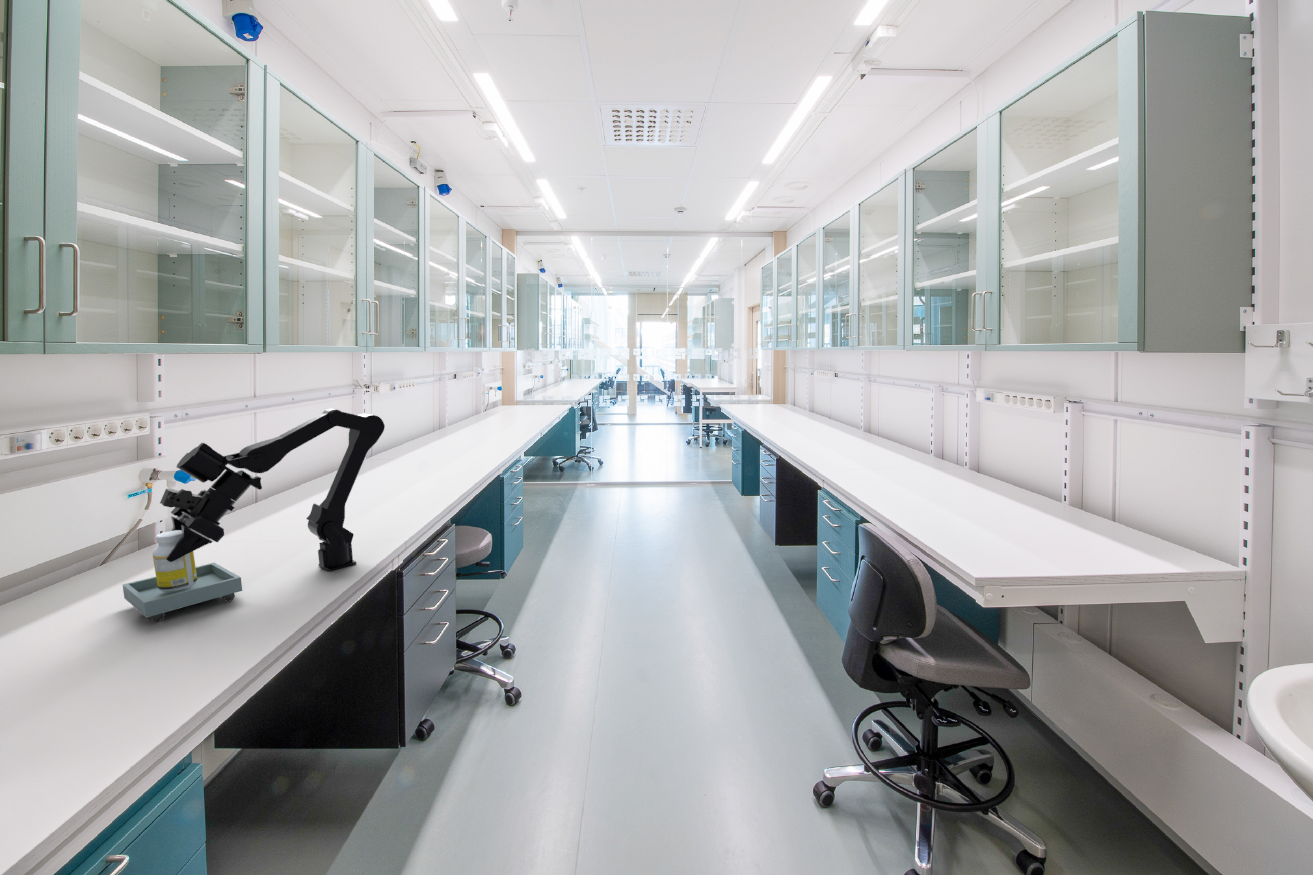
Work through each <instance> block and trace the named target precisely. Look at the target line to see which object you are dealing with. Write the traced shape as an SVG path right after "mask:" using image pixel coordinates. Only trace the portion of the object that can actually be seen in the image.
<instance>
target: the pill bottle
mask: <svg viewBox="0 0 1313 875" xmlns="http://www.w3.org/2000/svg"><path fill="white" fill-rule="evenodd" d="M181 536H182V530H175V531H172V530H170V531H164V532H160V533H158V534H156V535H155V541H156V544H158V545H157V546H156V547H154V548H153V550H152V558H153V559H152V560H153V564H154V572H155V577H156V579H157V586H158V589H159V590H160V591H163V592H172V591H178V590H182V589H185V588H188V587H191V586H193V585H194V584H195V583H196V582H197V574H196V567H197V566H196V560H195V552H194V551H192V552H190V553H188V554H186V555H184V556H182V557H181V558H179V559H177V560H175V561H173V562H170V561H168V560H167V557H168V555H169V554H170V552H171V551H172V549H173V548H174V547H175V545H176V544H177V542H178V541H179V539H180V538H181Z"/></svg>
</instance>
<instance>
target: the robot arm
mask: <svg viewBox="0 0 1313 875" xmlns="http://www.w3.org/2000/svg"><path fill="white" fill-rule="evenodd" d="M334 427H341V428H343V429H349V432H348V445H347V449H346V451H345V453H344V454H343V457H342V460H341V463H340V465H339V467H338V469H337V472H336V474H335V476H334V479H333V481H332V483H331V486H330V488H329V490H328V493H327V495H326V497H325V499H324V500H323V501H322V502H321V503H320V504H318V503H313V504H312V506H311V511H310V513H309V515H308V516H307V517H306V520H307V528H308V530H309V532H310V533H312V534H313V535H315V536H317V538H318V540H319V541H321V542H320V543H319V542H318V543H319V549H318V550H317V554H318V566H319V567H320V568H322V569H325V570H327V571H329V572H330V571H336V570H339V569H342V568H345V567H349V566H353V565H356V564H357V561H356V560H354V559H353V557H354V556H353V547H352V542H353V538H354V533H353V532H352V531H351V530H348V529H347V528H345V527H344V523H345V518H346V504H347V502H348V499H349V496H350V494H351V492H352V489H353V487H354V484H355V483H356V480H357V477H358V475H359V472H360V470H361V468H362V465H363V464H364V461H365V458H366V456H367V454H368V452H369V451H370V450H371V449H372V448H373V447H374V445H375V444H376V443H377V442H378V441H379V439H380V438H381V436H382V435H383V433H384V431H385V429H386V428H385V424H384V420H383V419H382V418H381V417H380V416H378V415H374V414H367V413H360V414H353V413H349V412H344V411H341V410H340V409H335V408H328V409H327V408H326V409H325V410H324V411H323V412H321V413H320V414H318V415H316V416H314V417H312V418H310V419H308V420H306V421H305V422H303V423H301V424H298V425H297V426H295V427H293V428H291V429H289V430H288V431H286V432H283V433H282V434H280V435H278V436H276V437H273V438H270V439H265V440H262V441H259V442H256V443H254V444H250V445H247V446H245V447H243V448H241V450H239V452H235V453H233V454H227V455H223V454H221V453H219V452H217V451H216V450H214V449H213V448H212V447H211V446H210V445H208V444H207V443H205V442H201V443H199V445H197V446H196V447H194V448H193V449H192V450H190V452H186V454H184V456H182V457H181V459H180V460H179V461H178V463H177V464H176V469H179V470H180V471H182V472H184V473H185V474H187V475H189V476H191V477H192V478H194V479H196V480H197V481H199V482H201V483H203V484H204V483H207V482H208V481H209V482H211V483H212V482H214V483H212V484H211V485H210V487H209V488H208V489H207V490H205V489H203V490H200V492H199V493H197V494H195V493H193V492H192V491H191V490H186V489H183V488H181V489H180V490H176V489H172V488H165V490H164V492H163V495H162V497H161V499H160V502H159V504H161V505H162V506H164V507H167V508H173V510H172V511H170V514H172V515H173V516H172V515H171V516H170V517H171V523H172V528H171V531H175V530H182V536H181V538H180V539H179V541H178V542H177V544H176V545H175V547H174V548H173V549H172V551H171V552H170V554H169V555H168V557H167V560H168V561H170V562H173V561H175V560H177V559H179V558H181V557H182V556H184V555H186V554H188V553H190V552H192V551H193V552H194V551H196V550H198V549H200V548H202V547H204V546H206V545H209V544H212V543H213V542H216V543H219V542H220V540H222V538H223V537H224V536H225V530H224V528H223V526H220V524H221V522H220V520H222V518H223V517H224V516H225V515H226V514H227V512H229V511H230V512H232V511H233V510H234V509H235V506H234V505H236V502H238V501H239V499H240V498H241V497H242V496H243V495H244V494H245V493H246V492H247V490H248V489H249V488H250V487H251V486H252V487H253V488H255V489H257V490H262V489H263V487H262V483H261V480H262V477H260V476H258V475H257V476H253V475H250V474H249V473H247V472H246V471H245V470H247V471H249V472H251V473H253V474H254V473H255V474H264V473H266V472H269V471H270V470H271V469H272V468H274V467H275V466H276V465H277V464H279V463H281V461H282V460H283V459H284V458H285V457H286V456H287V455H288V454H290V452H292V451H293V450H296V449H297V448H299V447H302V445H304V444H306V443H309V441H312V440H314V439H315V438H317V437H320V435H322V434H325V433H326V432H327V431H330V430H331V429H333V428H334ZM227 465H230V466H232V467H234V468H236V469H241V470H238V471H234V470H233V469H231V468H230V467H228V466H227ZM242 469H245V470H242Z"/></svg>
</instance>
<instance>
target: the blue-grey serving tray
mask: <svg viewBox="0 0 1313 875" xmlns="http://www.w3.org/2000/svg"><path fill="white" fill-rule="evenodd" d="M195 567H196V574H197V582H196V583H195V584H194V585H193V586H191V587H188V588H185V589H182V590H178V591H172V592H163V591H160V590H159V589H158V586H157V579H156V576H151V577H148V578H144V579H143V578H142V579H140V580H135V581H131V582H127V583H124V584H121V585H122V591H123V596H124V599H125V601H127V602H128V603H129V604H130V605H132V606H133V607H134V608H135V610H137V612H139V613H140V614H142V616H144V617H145V618H150V620H151V621H152V622H154V623H158V622H159V623H160V622H161V621H162V620H164V618H165V614H164V613H168V612H171V611H175V610H179V609H181V608H185V607H188V606H189V607H190V606H193V605H196V604H199V603H204V602H207V601H210V600H213V599H214V600H215V599H217V598H222V599H223V601H226V602H232V601H233V600H234V598H235V597H236V595H235V594H237V593H238V592H243V584H242V576H240V575H237V574H236V573H234V572H233V571H230V570H228V569H227V568H225V567H223V566H222V565H219V564H217V563H216V562H211V563H206V564H203V565H202V564H201V565H199V566H195Z"/></svg>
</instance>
